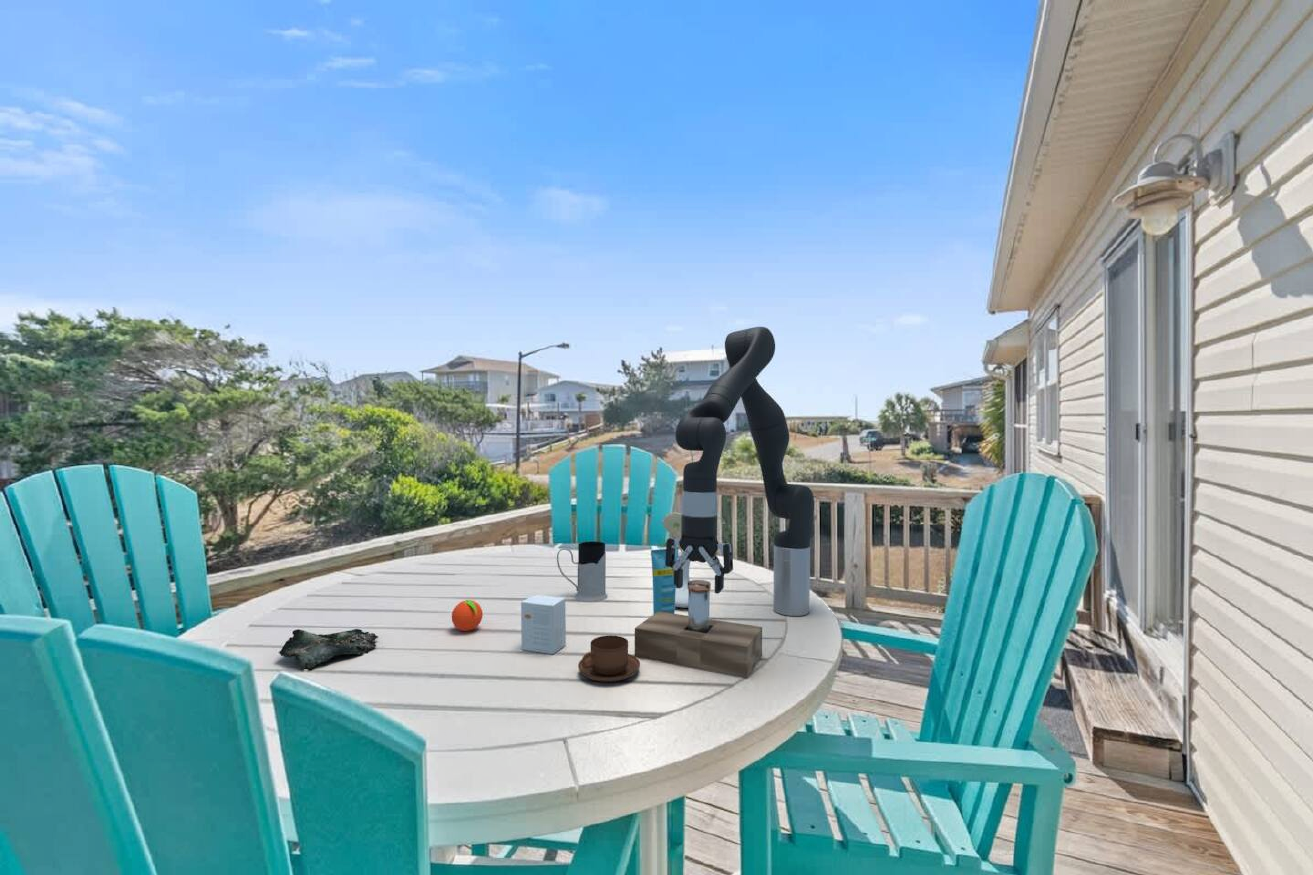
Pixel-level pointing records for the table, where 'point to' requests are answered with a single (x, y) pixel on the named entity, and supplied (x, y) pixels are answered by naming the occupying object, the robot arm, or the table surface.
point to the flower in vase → (674, 526)
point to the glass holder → (590, 571)
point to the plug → (698, 605)
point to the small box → (543, 624)
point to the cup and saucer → (609, 660)
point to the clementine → (467, 615)
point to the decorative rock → (326, 646)
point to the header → (699, 644)
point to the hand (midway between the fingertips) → (698, 589)
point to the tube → (663, 582)
